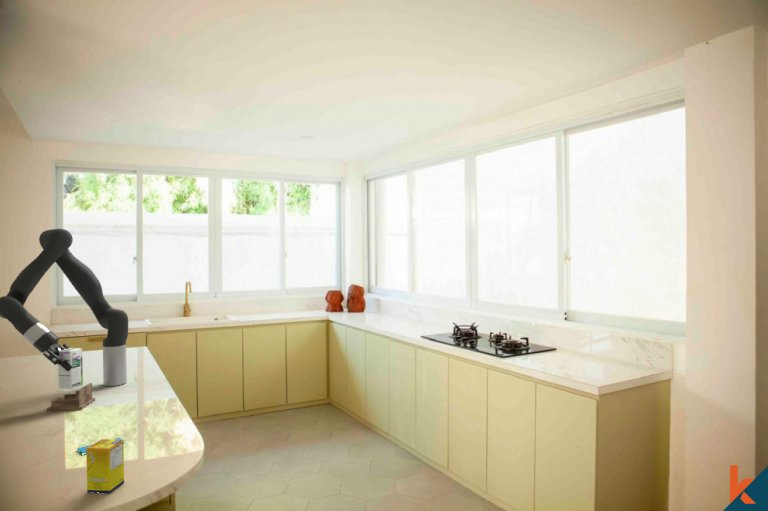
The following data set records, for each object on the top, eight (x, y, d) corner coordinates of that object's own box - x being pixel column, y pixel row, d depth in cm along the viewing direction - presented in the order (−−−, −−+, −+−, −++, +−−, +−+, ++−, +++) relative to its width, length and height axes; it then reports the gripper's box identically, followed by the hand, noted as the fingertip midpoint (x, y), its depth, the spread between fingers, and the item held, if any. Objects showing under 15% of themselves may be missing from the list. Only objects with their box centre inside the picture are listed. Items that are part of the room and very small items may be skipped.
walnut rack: (62, 402, 199) (61, 384, 199) (95, 400, 201) (94, 382, 201) (46, 411, 187) (46, 392, 187) (82, 409, 189) (81, 390, 189)
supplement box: (102, 482, 127) (101, 438, 127) (124, 483, 127) (124, 439, 127) (86, 493, 121) (85, 447, 121) (109, 494, 121) (109, 448, 121)
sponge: (127, 442, 153) (121, 435, 157) (81, 454, 144) (76, 446, 149) (126, 447, 153) (121, 440, 157) (81, 459, 145) (76, 451, 149)
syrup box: (71, 389, 190) (71, 350, 190) (57, 388, 192) (57, 350, 192) (83, 385, 196) (83, 347, 196) (70, 384, 197) (69, 347, 197)
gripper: (39, 333, 186) (74, 363, 187) (58, 327, 200) (90, 356, 202) (23, 348, 185) (58, 378, 187) (43, 341, 199) (76, 370, 201)
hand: (75, 367), depth 194 cm, fingers closed on syrup box, 7 cm apart
